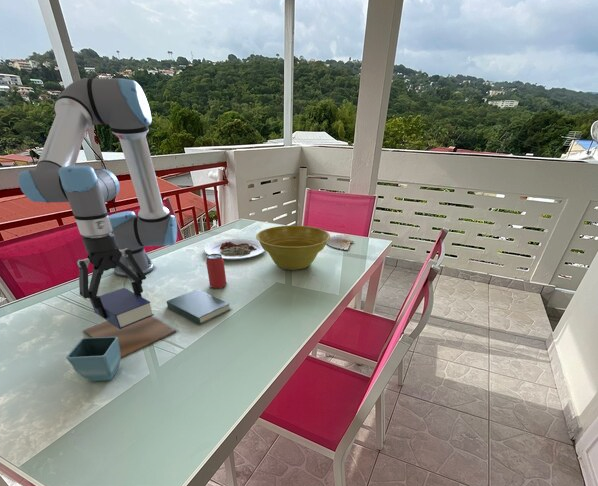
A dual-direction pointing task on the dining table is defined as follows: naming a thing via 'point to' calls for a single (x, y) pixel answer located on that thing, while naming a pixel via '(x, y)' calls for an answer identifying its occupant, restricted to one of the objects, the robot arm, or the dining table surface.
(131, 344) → the brown wooden board
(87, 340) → the flower pot
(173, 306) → the green notebook
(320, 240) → the planter bowl
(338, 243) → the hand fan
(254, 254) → the plated food
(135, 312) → the navy book
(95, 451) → the dining table surface
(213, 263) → the beer can
